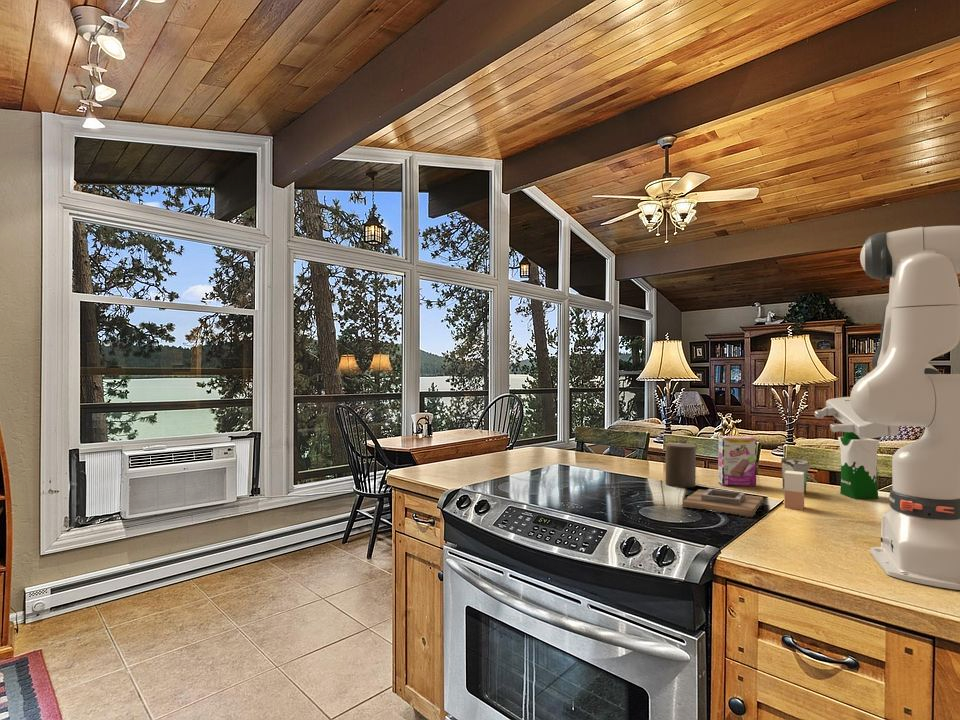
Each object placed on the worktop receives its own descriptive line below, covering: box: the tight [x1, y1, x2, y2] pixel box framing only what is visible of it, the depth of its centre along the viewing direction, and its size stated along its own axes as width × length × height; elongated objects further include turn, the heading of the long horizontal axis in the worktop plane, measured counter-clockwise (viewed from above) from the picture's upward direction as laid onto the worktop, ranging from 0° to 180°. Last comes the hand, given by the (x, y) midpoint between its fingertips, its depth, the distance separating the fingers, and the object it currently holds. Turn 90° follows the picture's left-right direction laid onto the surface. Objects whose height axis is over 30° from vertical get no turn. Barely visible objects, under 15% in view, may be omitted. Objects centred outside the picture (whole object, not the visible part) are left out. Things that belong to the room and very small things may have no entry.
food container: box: [780, 457, 811, 495], centre depth 174 cm, size 12×6×10 cm, turn 168°
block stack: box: [783, 470, 805, 511], centre depth 156 cm, size 4×4×10 cm
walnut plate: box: [682, 488, 764, 516], centre depth 157 cm, size 18×18×4 cm
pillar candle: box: [665, 441, 697, 488], centre depth 186 cm, size 10×10×15 cm
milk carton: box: [837, 432, 880, 500], centre depth 168 cm, size 9×9×20 cm
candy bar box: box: [717, 435, 757, 487], centre depth 185 cm, size 11×5×16 cm, turn 84°
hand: (823, 421), depth 149 cm, fingers open, 8 cm apart
